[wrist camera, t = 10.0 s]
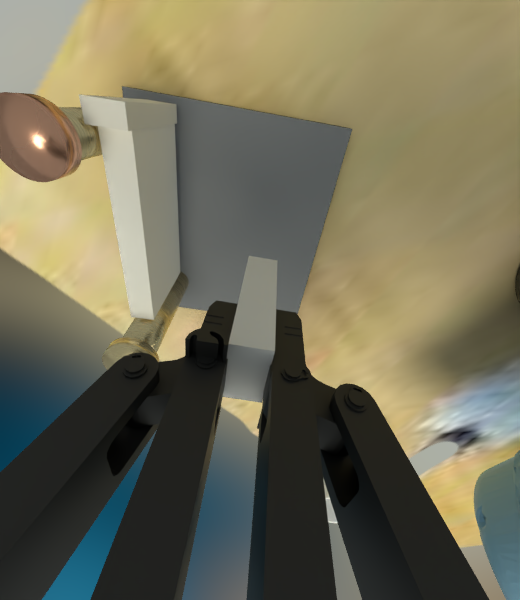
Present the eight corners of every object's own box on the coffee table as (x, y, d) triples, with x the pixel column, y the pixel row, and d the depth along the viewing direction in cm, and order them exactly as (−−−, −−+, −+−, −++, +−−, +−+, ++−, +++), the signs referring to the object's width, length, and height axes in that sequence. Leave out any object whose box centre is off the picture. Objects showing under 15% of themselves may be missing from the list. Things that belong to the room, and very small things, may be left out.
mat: (350, 128, 19) (352, 129, 18) (294, 319, 28) (294, 323, 28) (126, 86, 18) (122, 86, 17) (148, 298, 27) (146, 302, 27)
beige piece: (182, 272, 24) (152, 326, 18) (161, 269, 24) (124, 323, 18) (176, 104, 17) (124, 101, 11) (147, 99, 17) (78, 94, 11)
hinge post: (194, 265, 25) (152, 350, 16) (194, 293, 27) (156, 384, 18) (159, 260, 25) (97, 343, 16) (161, 289, 27) (106, 378, 18)
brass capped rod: (162, 104, 18) (54, 100, 9) (164, 151, 20) (74, 187, 11) (119, 96, 18) (-33, 84, 9) (125, 144, 20) (0, 175, 11)
